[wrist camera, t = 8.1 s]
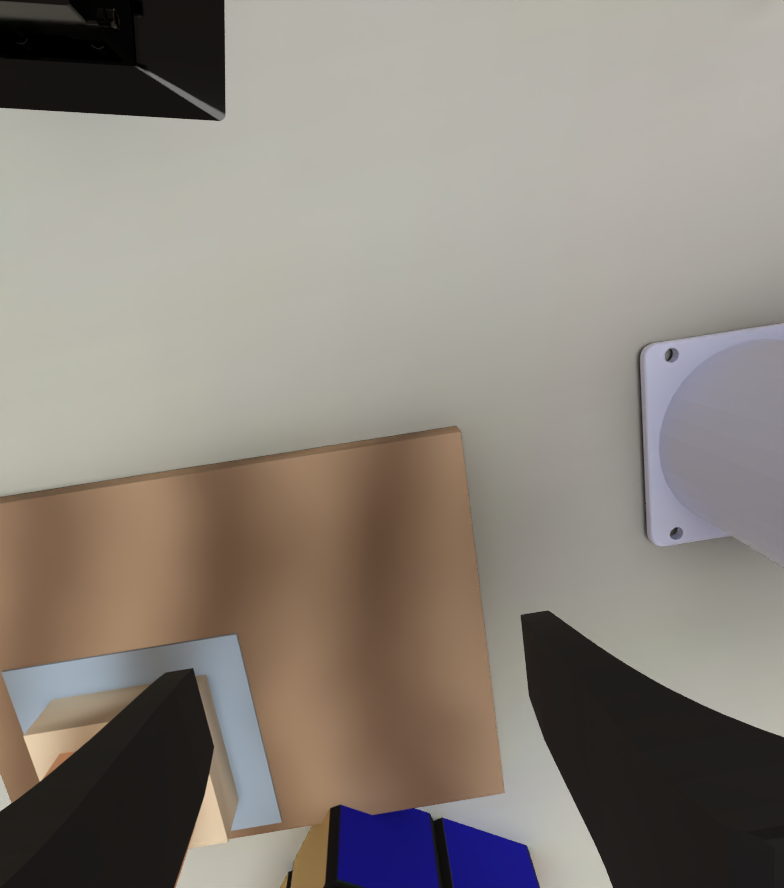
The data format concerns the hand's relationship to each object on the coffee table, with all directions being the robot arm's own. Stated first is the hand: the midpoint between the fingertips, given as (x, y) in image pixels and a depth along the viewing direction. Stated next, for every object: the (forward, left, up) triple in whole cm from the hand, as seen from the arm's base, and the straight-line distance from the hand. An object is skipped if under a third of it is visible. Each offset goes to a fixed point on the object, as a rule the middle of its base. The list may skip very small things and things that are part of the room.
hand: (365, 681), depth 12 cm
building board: (+6, +5, -10) cm, 13 cm away
